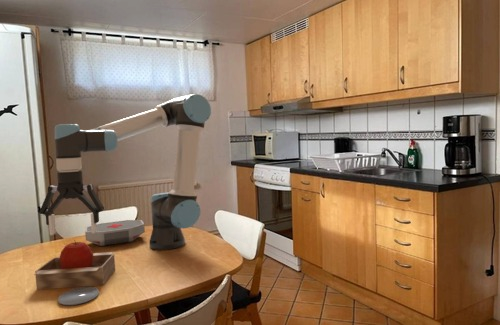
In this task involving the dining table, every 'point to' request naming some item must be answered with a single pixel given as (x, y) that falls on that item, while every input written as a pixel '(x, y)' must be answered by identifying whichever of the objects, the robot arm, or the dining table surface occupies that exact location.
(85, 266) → the apple
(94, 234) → the first aid kit
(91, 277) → the brown shallow open box
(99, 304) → the dining table surface
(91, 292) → the plate
